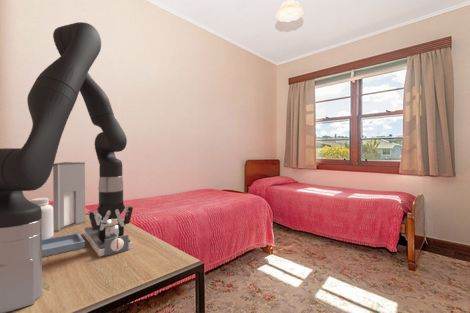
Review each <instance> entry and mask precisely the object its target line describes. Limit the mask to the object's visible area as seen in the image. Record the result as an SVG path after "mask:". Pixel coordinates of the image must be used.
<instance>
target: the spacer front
mask: <svg viewBox="0 0 470 313" xmlns="http://www.w3.org/2000/svg"><path fill="white" fill-rule="evenodd" d="M103 230H104V240H105V239H109V238H114V237H119V224H118V222H112V223H110V224H106V225H105V227H104V229H103ZM103 242H104V241H103Z"/></svg>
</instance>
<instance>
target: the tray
mask: <svg viewBox="0 0 470 313" xmlns="http://www.w3.org/2000/svg"><path fill="white" fill-rule="evenodd" d="M85 248H86V241H85V239H84V238H83V236H82V235H81V233H80V232H76V233H70V234H69V233H68V234H64V235H59V236H52V237H51V238H47V239H42V258H45V257H49V256H54V255H55V256H56V255H58V254H59V255H60V254H63V253H67V252H68V253H69V252H73V251H76V250H77V251H78V250H81V249H85Z"/></svg>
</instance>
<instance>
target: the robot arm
mask: <svg viewBox="0 0 470 313" xmlns="http://www.w3.org/2000/svg"><path fill="white" fill-rule="evenodd" d="M52 34H53V36H52V37H53V38H52V39H53V42H54V45H55V47H56V50H57V52H58V54H59V56H60V57H58V58H57V59H56V60H55V61H53V62H52V63H50V64H49V65H48V66H46V68H45V69H44V70H42V72H41V73H40V74H39V75H38V76H37V77H36V79H35V81H34V82H33V85H32V87H31V88H30V90H29V92H28V94H27V97H26V98H27V100H26V101H27V108H28V111H29V114H30V117H31V121H32V126H31V131H30V132H29V135H28V137H27V139H26V142H25V143H24V144H23V146H22V147H21V148H13V147H12V148H11V147H10V148H7V147H5V148H0V313H9V312H13V311H15V310H19V309H22V308H25V307H28V306H31V305H34V304H35V301H37V300H38V299H39V298H40V297H41V296H42V294H43V257H42V210H41V207H40V206H39V205H37V204H34V203H32V202H31V200H29V199H28V198H27V197H25V195H24V192H30V191H31V192H33V191H36V190H38V189H40V188H42V187H43V185H45V183H47V181H48V179H49V178H50V176H51V173H52V172H53V164H55V161H56V156H57V153H58V149H59V146H60V143H61V138H62V137H63V136H62V135H63V132H64V130H65V127H66V124H67V122H68V119H69V118H70V115H71V113H72V111H73V109H74V107H75V104H76V102H77V99H78V97H79V94H80V96H81V97H82V100H83V101H84V104H85V107H86V109H87V113H88V115H89V117H90V120H91V123H92V124H93V126H96V127H98V128H100V129H101V132H99V133H98V134H96V136H95V138H94V150H95V154H96V157H97V158H96V159H97V161H98V164H99V173H98V174H99V177H98V178H99V180H98V188H97V189H98V206H97V208H96V209H95V210H92V211H91V210H90V211H88V212H87V214H88V218H89V221H90V222H89V223H90V224H91V227H92V228H93V229H94V230H98V238H99V239H100V240H101V241H104V230H103V229H104V227H105V224H106V223H107V220H110V219H112V220H113V219H114V220H116V221H117V223H118V224H119V236H122V235H125V226H126V225H128V224H130V222H131V217H132V214H133V208H134V207H132V206H130V205H128V206H127V205H125V204H124V178H123V162H122V160H121V159H118V158H117V157H116V154H115V153H117V152H122V151H123V150H125V149H126V146H127V141H128V139H127V136H126V134H125V131H124V129H123V128H122V126H121V125H120V123H119V122H118V120H117V118H116V117H115V114H114V110H113V108H112V104H111V101H110V99H109V97H108V95H107V94H106V93H105V91H104V90H103V89H102V87H101V86H100V85H99V84H98V83H97V82H96V81H95V80H94V79H93V78H92V76H91V75H90V74H89V71H90V70H91V67H92V66H93V64H94V63H95V61H96V59H97V58H98V57H99V54H100V52H101V49H102V39H101V36H100V34H99V32H98V30H97V29H96V28H95V26H93V25H92V24H91V23H88V22H74V23H71V24H65V25H61V26H59V27H56V28H55V29H54V31H53V33H52ZM123 211H124V212H125V215H124V220H123V217H122V215H121V214H122V213H123ZM97 214H100V215H101V216H102V217H101V219H100V223H99V225H97V223H96V220H95V217H96V216H97Z"/></svg>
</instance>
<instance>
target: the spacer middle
mask: <svg viewBox="0 0 470 313" xmlns="http://www.w3.org/2000/svg"><path fill="white" fill-rule="evenodd" d="M99 223H100V219H99V220H97V225H99ZM110 223H113V219H110V220H107V223H106V224H110ZM106 224H105V225H106ZM97 235H98V230H97Z"/></svg>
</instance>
